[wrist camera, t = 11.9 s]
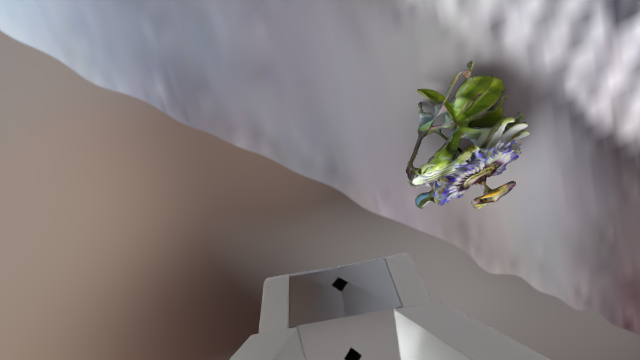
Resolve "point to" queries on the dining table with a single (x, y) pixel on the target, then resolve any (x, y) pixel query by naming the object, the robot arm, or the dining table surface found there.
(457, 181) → the passion flower
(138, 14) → the dining table surface
